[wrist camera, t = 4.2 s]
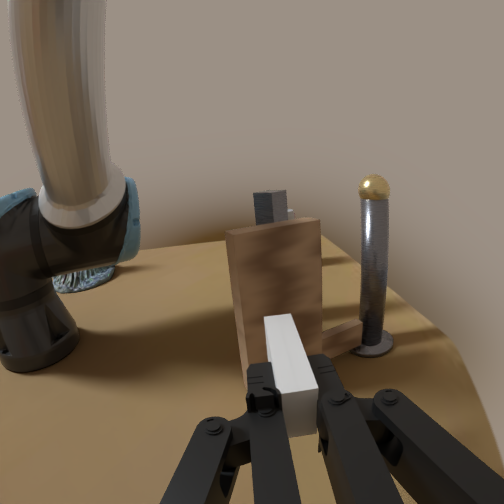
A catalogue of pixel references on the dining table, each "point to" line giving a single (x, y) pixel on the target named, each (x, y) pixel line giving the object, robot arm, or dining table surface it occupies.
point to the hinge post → (373, 266)
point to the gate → (282, 288)
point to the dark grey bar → (270, 206)
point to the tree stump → (83, 279)
